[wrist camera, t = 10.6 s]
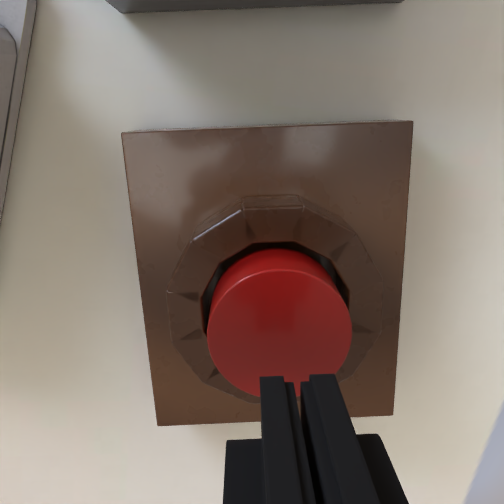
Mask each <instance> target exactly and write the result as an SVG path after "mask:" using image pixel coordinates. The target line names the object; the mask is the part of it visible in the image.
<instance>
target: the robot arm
mask: <svg viewBox="0 0 504 504" xmlns="http://www.w3.org/2000/svg"><path fill="white" fill-rule="evenodd" d="M259 378H260V405H261V430H262V439H243V440H227V442H226V457H225V475H224V492H223V504H409V503H408V501H407V498H406V496H405V494H404V491H403V489H402V487H401V484H400V482H399V480H398V477H397V475H396V473H395V470H394V468H393V465H392V463H391V461H390V458H389V456H388V454H387V451H386V449H385V447H384V444H383V442H382V440H381V438H380V436H379V435H378V434H357V435H356V433H355V430H354V427H353V424H352V422H351V419H350V416H349V413H348V410H347V407H346V404H345V402H344V399H343V396H342V393H341V390H340V387H339V385H338V382H337V379H336V376H335V374H334V373H332V374H310V375H309V381H301V382H300V414H299V409H298V404H297V398H296V393H295V387H294V383H293V382H284V376H262V377H259Z"/></svg>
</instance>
